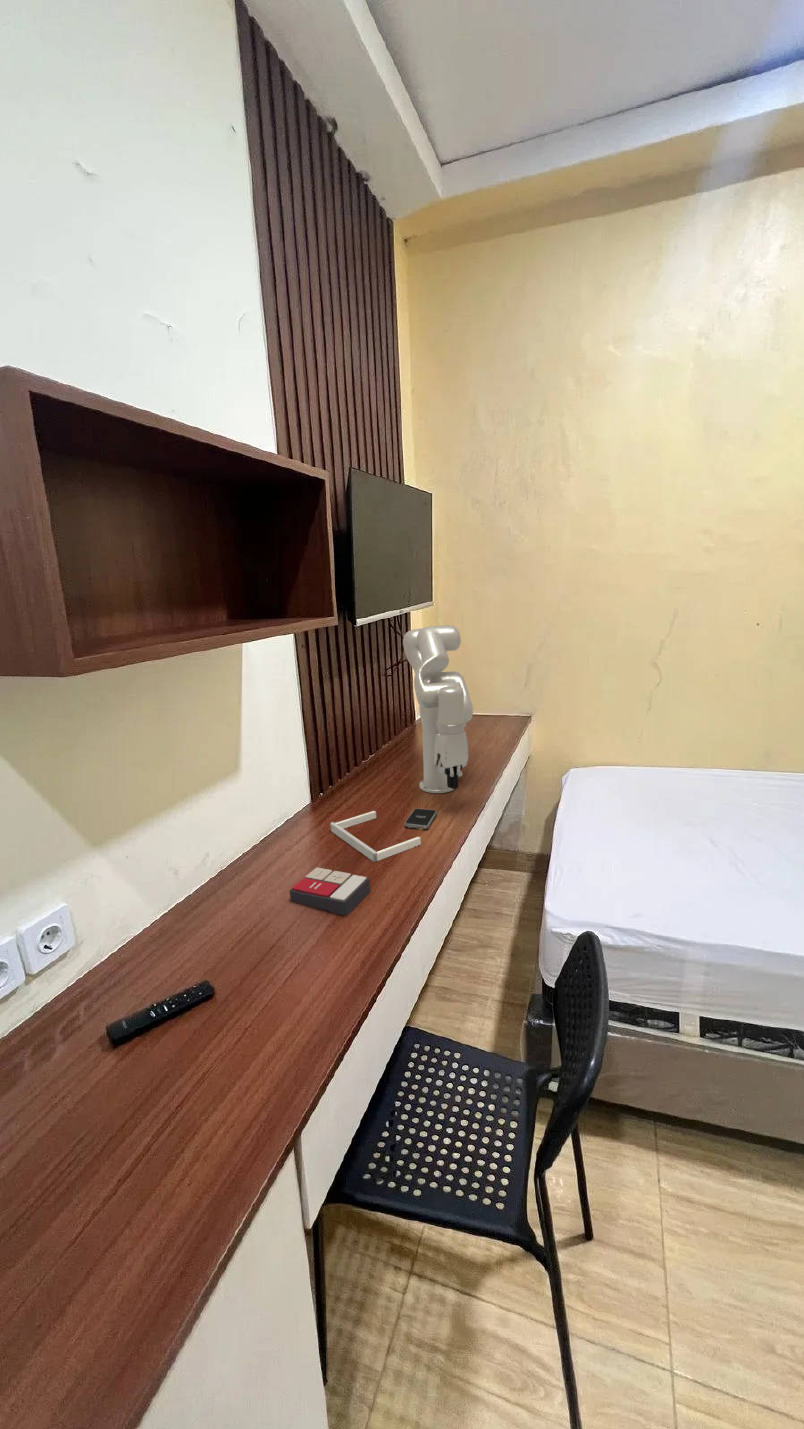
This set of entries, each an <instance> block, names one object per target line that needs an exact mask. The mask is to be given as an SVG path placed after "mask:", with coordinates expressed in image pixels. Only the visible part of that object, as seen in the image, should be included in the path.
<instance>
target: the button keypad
mask: <svg viewBox="0 0 804 1429" xmlns="http://www.w3.org/2000/svg"><path fill="white" fill-rule="evenodd" d="M369 893H371V884H370V878H369V877H367V876H363V875H356V874H352V873H351V872H350V873H349V872H343V871H340V870H338V871H337V870H332V869H328V868H327V869H326V868H322V867H315V868H314V869H313V870H311V871H310V872H309V873H308V874H306V875H305V877H304V878H302V879H300V881H298V882H297V883H295V885H293V886H292V887H291V889H289V895H290V896H289V897H290V901H291V902H293V903H297V904H300V905H303V906H308V907H310V908H316V909H319V910H324V911H327V912H330V913H333V914H335V915H339V916H343V917H347V916H348V915H350V913H352V911H353V910H354V909H355V908H356V907H357V906H358V905H359V904H360V903H361V902H362V901H363V900H364V899H365V898H366V897H367V896H368V895H369Z"/></svg>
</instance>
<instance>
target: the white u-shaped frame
mask: <svg viewBox="0 0 804 1429" xmlns="http://www.w3.org/2000/svg"><path fill="white" fill-rule="evenodd" d="M374 819H377V811H376V810H372V811H369V812H366V813H363V814H359V815H357V816H353V817H350V818H347V819H343V820H340V821H337V822H334V821H332V822H330V824H329V825H330V831H331V833H332V834H335V836H337V837H338V838H340V839H341V840H342V841H344V842H346V843H347V844H348V845H349V846H351V847H352V848H354V849H355V850H357V851H358V852H360V853H361V854H362V855H364V856H365V857H366V858H368V859H369V860H370V861H372V862H374V863H376V862H378V861H381V860H384V859H386V858H390V857H391V856H394V855H398V854H400V853H402V852H405V851H408V850H410V849H413V848H415V846H416V847H418V845H419V846H421V844H422V842H421V841H422V840H421V839H422V838H421V837H420V836H416V837H414V838H410V839H408V840H405V841H403V842H400V843H396V844H394V845H392V846H389V847H387V848H383V849H381V850H379V851H376V850H375V849H373V848H372V847H370V846H369V845H367V844H366V843H365V842H363V841H361V840H360V839H358V838H357V837H355V836H354V835H352V833H350V832H349V831H348V830H346V829H347V828H349V827H353V826H356V825H359V824H362V823H365V822H368V821H371V820H374Z"/></svg>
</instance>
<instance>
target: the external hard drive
mask: <svg viewBox="0 0 804 1429" xmlns="http://www.w3.org/2000/svg"><path fill="white" fill-rule="evenodd" d="M437 812H438V811H437V810H436V809H425V808H414V809H413V810H412V812H411V813H410V814H409V816H408V817H407V819H406V820H405V822H404V828H405V829H408V828H409V830H417V829H419V828H423V829H422V830H421V831H428V830H429V829H430V827H431V825H432V824H433V822H434V820H435V819H436V817H437ZM428 828H429V829H428Z"/></svg>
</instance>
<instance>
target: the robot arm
mask: <svg viewBox="0 0 804 1429" xmlns="http://www.w3.org/2000/svg"><path fill="white" fill-rule="evenodd" d="M460 633H461V632H460V631H459V629H458V628H457V627H456V626H455V625H450V624H449V625H431V626H425V627H422V628H415V629H411V630H408V631H407V632H406V633H405V634H404V635H403V639H402V643H403V644H402V645H403V650H404V654H405V657H406V659H407V661H408V663H409V665H410V666H411V668H412V670H413V671H414V678H413V680H414V681H413V686H414V687H413V688H414V691H415V697H416V701H417V703H418V707H419V708H418V709H419V710H418V711H419V716H420V721H421V722H420V723H421V729H422V732H421V733H422V760H423V761H422V762H423V780H421V781H420V782H419V783H418V784H419V789H420V790H421V791H423V792H426V793H428V794H445V793H450V792H453V791H454V790H456V789H458V788H459V778H460V777H463V772H462V771H461V770H462V769H463V768H465V767H466V766H467V765H468V762H469V744H468V737H467V733H466V731H465V727H466V726H467V723H468V722H470V720H471V719H472V718H473V715H474V710H473V708H474V707H473V703H472V700H471V697H470V694H469V693H470V692H469V689H468V687H467V686H468V685H467V683H466V680H465V678H464V676H463V675H462V673H460V672H459V671H453V670H452V671H444V670H446V668H447V667H449V662H450V657H449V655H448V652H455V651H457V650H458V649H459V648H460V646H461V642H462V640H461V638H462V637H461V634H460Z"/></svg>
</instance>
